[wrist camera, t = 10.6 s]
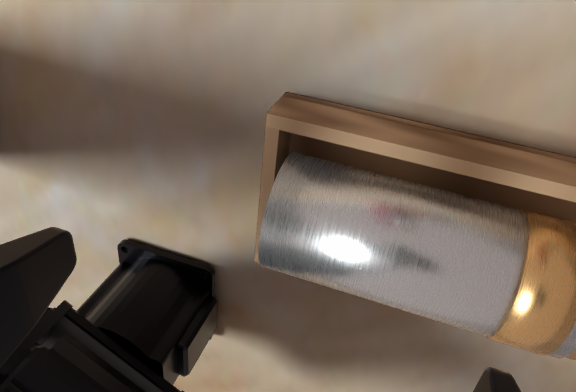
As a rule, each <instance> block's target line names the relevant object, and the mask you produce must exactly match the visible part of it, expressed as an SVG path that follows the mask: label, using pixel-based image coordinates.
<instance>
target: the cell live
mask: <svg viewBox="0 0 576 392" xmlns="http://www.w3.org/2000/svg"><path fill="white" fill-rule="evenodd" d="M258 259H259V263H260V265H261V266H262V267H265V268H269V269H272V270H275V271H278V272H281V273H285V274H288V275H291V276H294V277H297V278H301V279H304V280H307V281H310V282H313V283H317V284H320V285H323V286H326V287H330V288H333V289H336V290H339V291H342V292H346V293H349V294H352V295H355V296H358V297H362V298H365V299H368V300H371V301H374V302H378V303H381V304H384V305H387V306H390V307H394V308H397V309H400V310H403V311H406V312H410V313H413V314H416V315H419V316H422V317H426V318H429V319H432V320H435V321H439V322H442V323H445V324H448V325H451V326H455V327H458V328H461V329H464V330H467V331H471V332H474V333H477V334H480V335H483V336H486V337H487V338H489V339H492V340H495V341H498V342H501V343H505V344H508V345H511V346H514V347H517V348H521V349H524V350H527V351H530V352H533V353H537V354H540V355H545V356H546V355H548V356H551V357H554V358H559V359H560V358H564V357H567V356H568V355H570V354H571V353H572V352H573V351H574V350H575V349H576V223H575V222H571V221H567V220H563V219H559V218H555V217H552V216H548V215H544V214H540V213H536V212H532V211H528V210H524V209H515V208H511V207H507V206H503V205H499V204H496V203H492V202H488V201H484V200H480V199H476V198H472V197H468V196H464V195H460V194H457V193H453V192H449V191H445V190H441V189H437V188H433V187H429V186H425V185H421V184H417V183H414V182H410V181H406V180H402V179H398V178H394V177H390V176H386V175H382V174H378V173H374V172H371V171H367V170H363V169H359V168H355V167H351V166H347V165H343V164H339V163H335V162H331V161H328V160H324V159H320V158H316V157H312V156H308V155H304V154H300V153H296V152H292V153H291V154H290V155H288V157H287V158H286V159H285V161H284V163H283V164H282V166H281V168H280V170H279V172H278V174H277V177H276V179H275V181H274V184H273V187H272V189H271V192H270V195H269V198H268V202H267V205H266V209H265V212H264V217H263V221H262V226H261V231H260V237H259V246H258Z"/></svg>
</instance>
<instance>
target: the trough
mask: <svg viewBox="0 0 576 392" xmlns="http://www.w3.org/2000/svg"><path fill="white" fill-rule="evenodd" d="M292 152H296V153H300V154H304V155H308V156H312V157H316V158H320V159H324V160H328V161H331V162H335V163H339V164H343V165H347V166H351V167H355V168H359V169H363V170H367V171H371V172H374V173H378V174H382V175H386V176H390V177H394V178H398V179H402V180H406V181H410V182H414V183H417V184H421V185H425V186H429V187H433V188H437V189H441V190H445V191H449V192H453V193H457V194H460V195H464V196H468V197H472V198H476V199H480V200H484V201H488V202H492V203H496V204H499V205H503V206H507V207H511V208H515V209H524V210H528V211H532V212H536V213H540V214H544V215H548V216H552V217H555V218H559V219H563V220H567V221H571V222H575V223H576V158H574V157H569V156H565V155H560V154H556V153H552V152H547V151H543V150H538V149H534V148H530V147H525V146H521V145H516V144H512V143H508V142H503V141H499V140H494V139H490V138H486V137H481V136H477V135H472V134H468V133H464V132H459V131H455V130H450V129H446V128H442V127H437V126H433V125H429V124H424V123H420V122H415V121H411V120H407V119H402V118H398V117H393V116H389V115H385V114H380V113H376V112H371V111H367V110H363V109H358V108H354V107H349V106H345V105H341V104H336V103H332V102H327V101H323V100H319V99H314V98H310V97H305V96H301V95H297V94H292V93H288V92H285V94H284V95H283V96H282V97H281V98H280V99H279V100H278V101H277V102H276V104H275V105H274V106H273V107H272V108H271V109H270V110H269V111H268V112H267V115H266V127H265V139H264V151H263V163H262V174H261V186H260V198H259V210H258V222H257V233H256V245H255V257H254V262H256V263H259V259H258V246H259V237H260V231H261V226H262V221H263V217H264V212H265V209H266V205H267V202H268V198H269V195H270V192H271V189H272V187H273V184H274V181H275V179H276V177H277V174H278V172H279V170H280V168H281V166H282V164H283V163H284V161H285V159H286V158H287V157H288V155H290V154H291V153H292ZM566 358H569V359H573V360H575V359H576V349H575V350H574V351H573V352H572V353H571V354H570V355H568V356H567V357H566Z"/></svg>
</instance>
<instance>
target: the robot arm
mask: <svg viewBox="0 0 576 392" xmlns="http://www.w3.org/2000/svg"><path fill="white" fill-rule="evenodd" d="M118 255H119V262H120V265H119V266H118V267H117V268H116V269H115V270H114V271H113V272H112V273H111V274H110V276H109V277H108V278H107V279H106V280H105V281H104V282H103V283H102V284H101V285H100V286H99V287H98V288H97V289H96V291H95V292H94V293H93V294H92V295H91V296H90V297H89V298H88V299H87V300H86V301H85V302H84V303H83V304H82V306H81V307H80V308H79V309H78V310H77V311H76V310H74V309H73V308H72V307H73V306H72V305H71V304H69V303H68V302H67V301H66V300H64V301H63V302H62V303H61V304H60V305H59V306H58V307H57V308H48V306H49V305H50V303H51V302H52V301H53V299H54V298H55V296H56V295H57V293H58V292H59V290H60V289H61V287H62V286H63V284H64V283H65V281H66V280H67V278H68V277H69V275H70V274H71V273H72V271H73V269H74V267H75V265H76V253H75V248H74V243H73V238H72V235H71V234H70V232H68V231H66V230H62V229H59V228H56V227H50V228H47V229H44V230H41V231H38V232H35V233H33V234H30V235H27V236H24V237H21V238H18V239H15V240H13V241H10V242H7V243H4V244H1V245H0V392H184V391H180V390H178V389H177V388H176V387H175V386H173V384H174V382H175V381H176V379H177V377H178V376H179V375H181V376H187V375H188V374H190V372H191V370H192V368H193V367H194V365H195V363H196V362H197V360H198V358H199V356H200V355H201V353H202V351H203V350H204V348H205V346H206V344H207V343H208V341H209V340H210V339H211V338H212V336H213V334H214V331H215V329H216V327H217V309H218V301H217V299H216V297H215V271H214V269H213V268H212V267H211V266H209V265H206V264H203V263H199V262H196V261H193V260H190V259H187V258H184V257H180V256H177V255H174V254H171V253H168V252H164V251H161V250H158V249H155V248H152V247H149V246H145V245H142V244H139V243H136V242H133V241H130V240H122V241H121V242H120V243H119V245H118ZM206 273H207V274H206ZM473 392H521V391H520V389H519V387H518V385H517V383H516V382H515V380H514V378H513V377H512V375H510V374H509V373H507V372H504V371H501V370H498V369H495V368H491V367H489V368H487V369H486V370H485V371H484V373H483V375H482V376H481V378H480V380H479V382H478V384H477V385H476V387H475V389H474V391H473Z"/></svg>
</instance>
